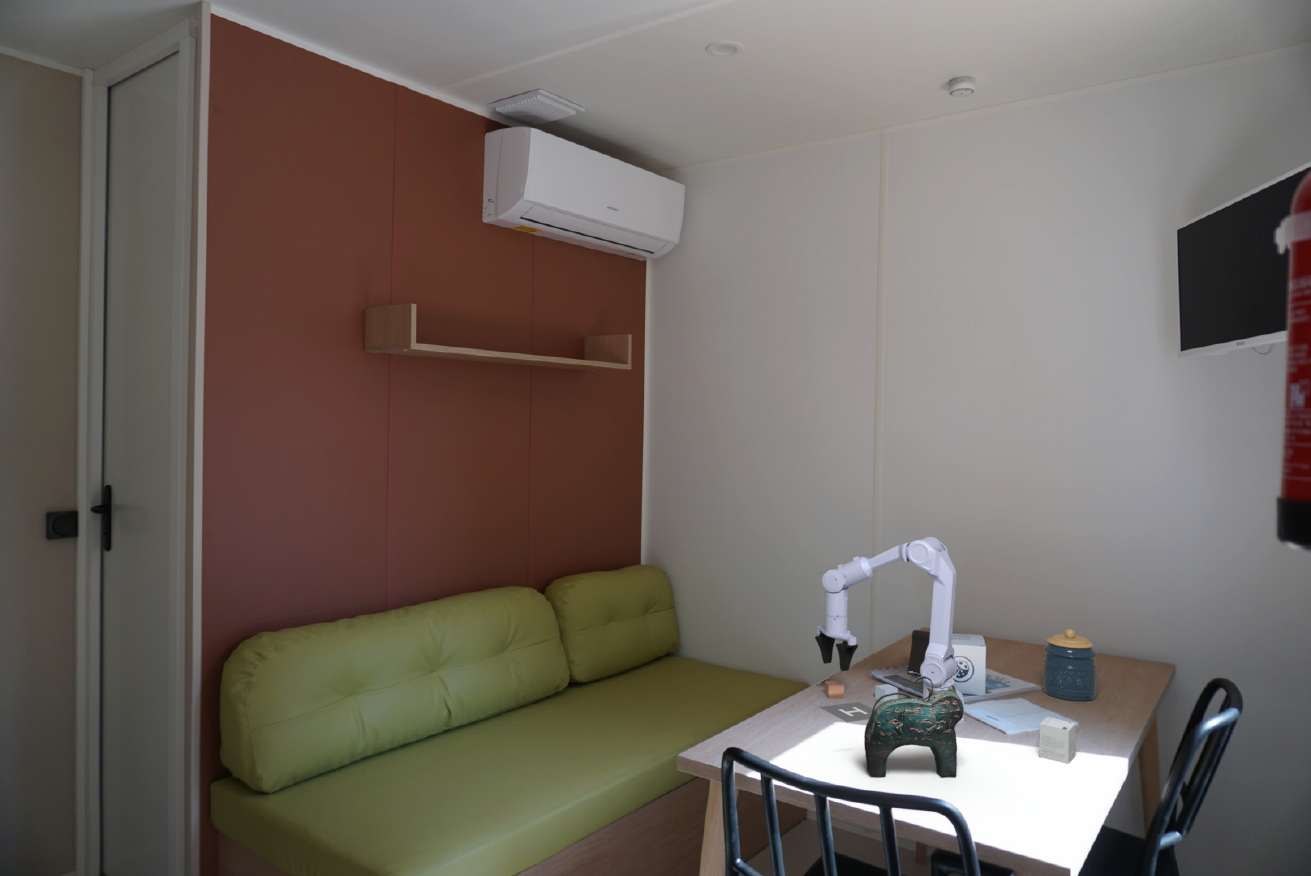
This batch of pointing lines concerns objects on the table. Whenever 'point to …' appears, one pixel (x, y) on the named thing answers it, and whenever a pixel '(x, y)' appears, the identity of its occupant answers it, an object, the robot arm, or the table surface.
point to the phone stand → (918, 649)
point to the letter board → (850, 711)
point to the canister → (1070, 667)
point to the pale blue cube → (885, 692)
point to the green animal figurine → (914, 729)
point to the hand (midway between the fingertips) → (835, 666)
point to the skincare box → (1057, 740)
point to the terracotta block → (834, 690)
